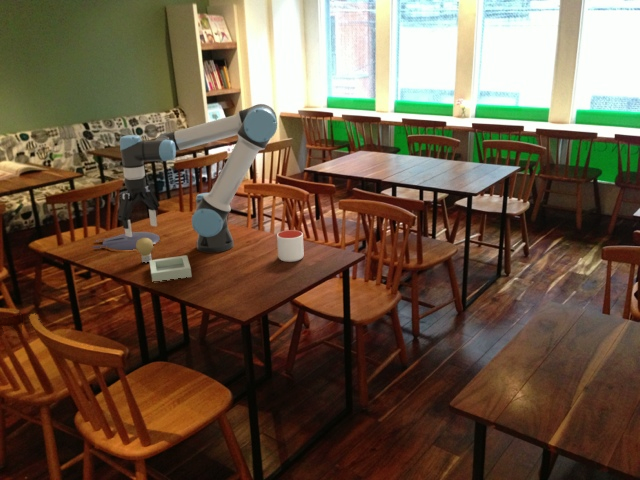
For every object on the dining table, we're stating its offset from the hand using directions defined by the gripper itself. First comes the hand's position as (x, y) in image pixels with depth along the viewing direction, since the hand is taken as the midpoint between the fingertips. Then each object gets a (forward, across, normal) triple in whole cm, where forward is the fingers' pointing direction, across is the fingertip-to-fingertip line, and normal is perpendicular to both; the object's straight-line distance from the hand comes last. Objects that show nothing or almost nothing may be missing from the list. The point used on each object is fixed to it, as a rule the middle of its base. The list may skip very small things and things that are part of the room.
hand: (141, 231), depth 226 cm
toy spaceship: (+14, -14, -24) cm, 31 cm away
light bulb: (+13, 0, 0) cm, 13 cm away
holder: (+13, +5, +17) cm, 22 cm away
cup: (+12, -26, +51) cm, 59 cm away
